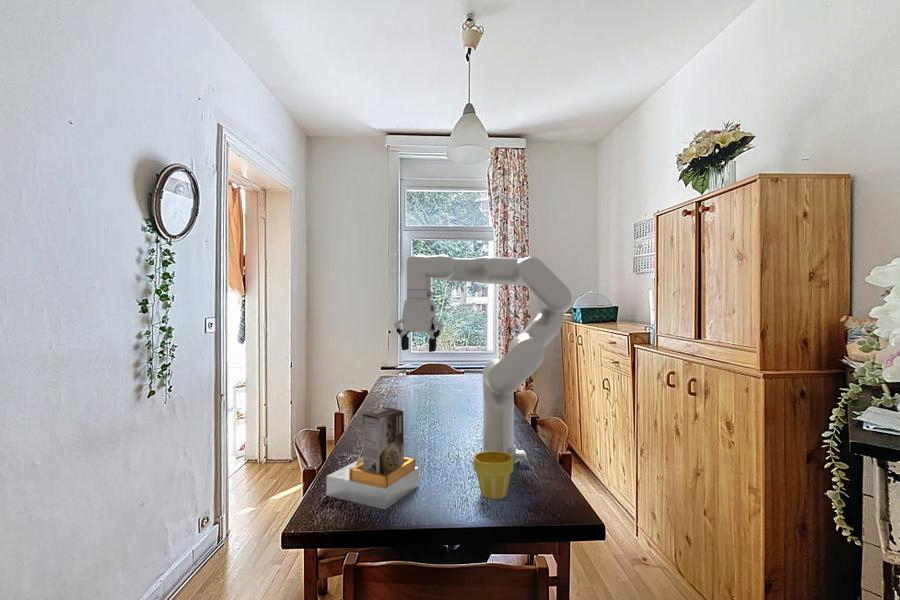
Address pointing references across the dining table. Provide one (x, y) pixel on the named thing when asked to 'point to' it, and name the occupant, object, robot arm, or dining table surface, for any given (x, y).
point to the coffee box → (383, 440)
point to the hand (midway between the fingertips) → (418, 350)
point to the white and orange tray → (373, 484)
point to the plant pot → (493, 473)
